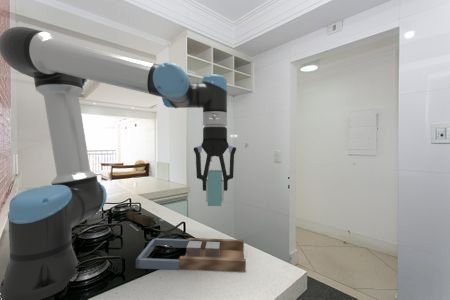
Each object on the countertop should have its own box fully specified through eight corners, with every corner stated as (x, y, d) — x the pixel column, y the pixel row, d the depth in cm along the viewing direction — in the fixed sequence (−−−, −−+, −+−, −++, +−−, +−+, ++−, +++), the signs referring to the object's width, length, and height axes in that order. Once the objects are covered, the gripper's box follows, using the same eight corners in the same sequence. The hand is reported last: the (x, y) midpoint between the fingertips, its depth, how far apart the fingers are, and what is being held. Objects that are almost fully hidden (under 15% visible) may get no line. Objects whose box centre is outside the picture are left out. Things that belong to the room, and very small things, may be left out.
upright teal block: (207, 205, 64) (207, 172, 64) (209, 199, 71) (209, 169, 71) (221, 206, 64) (221, 172, 64) (221, 199, 71) (221, 169, 71)
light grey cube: (205, 261, 62) (205, 248, 62) (206, 254, 66) (206, 241, 66) (218, 262, 62) (219, 248, 62) (219, 254, 66) (219, 242, 66)
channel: (179, 273, 58) (179, 258, 58) (188, 250, 70) (188, 237, 70) (245, 276, 57) (245, 261, 57) (243, 252, 70) (243, 239, 69)
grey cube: (186, 260, 62) (186, 247, 62) (189, 253, 66) (189, 240, 66) (199, 261, 62) (200, 247, 62) (201, 254, 66) (202, 241, 66)
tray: (135, 272, 58) (135, 259, 58) (153, 248, 71) (153, 238, 71) (178, 274, 58) (179, 261, 57) (189, 249, 71) (189, 239, 70)
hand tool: (125, 220, 97) (125, 210, 96) (133, 217, 100) (133, 208, 99) (147, 232, 84) (147, 220, 84) (156, 229, 88) (156, 218, 87)
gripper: (185, 125, 63) (186, 204, 64) (243, 125, 63) (243, 204, 63) (189, 127, 70) (190, 197, 71) (241, 127, 70) (241, 197, 71)
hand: (215, 200), depth 67 cm, fingers closed on upright teal block, 4 cm apart
